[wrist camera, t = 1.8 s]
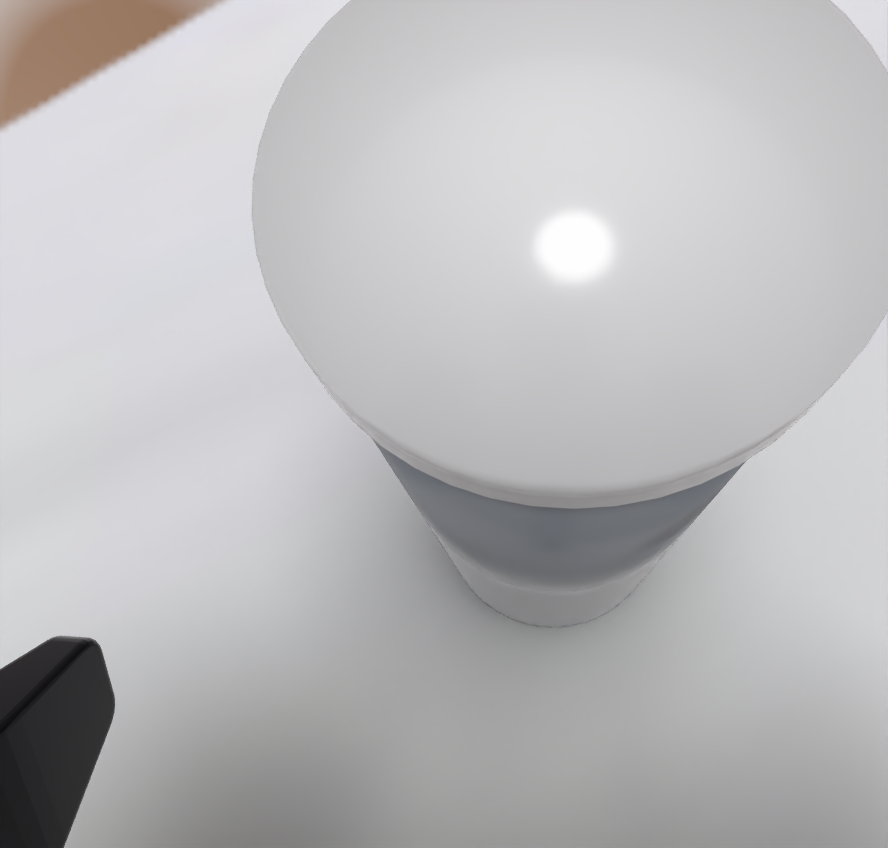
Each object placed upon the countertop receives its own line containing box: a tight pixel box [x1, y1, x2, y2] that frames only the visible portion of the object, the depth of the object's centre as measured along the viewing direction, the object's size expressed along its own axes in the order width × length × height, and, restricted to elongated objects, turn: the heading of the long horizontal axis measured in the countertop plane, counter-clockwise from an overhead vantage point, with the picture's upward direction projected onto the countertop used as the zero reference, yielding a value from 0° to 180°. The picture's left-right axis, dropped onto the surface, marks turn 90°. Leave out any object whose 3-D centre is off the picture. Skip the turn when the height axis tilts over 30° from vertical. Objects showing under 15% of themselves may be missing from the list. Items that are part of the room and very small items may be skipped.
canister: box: [252, 0, 888, 627], centre depth 13 cm, size 5×5×14 cm
